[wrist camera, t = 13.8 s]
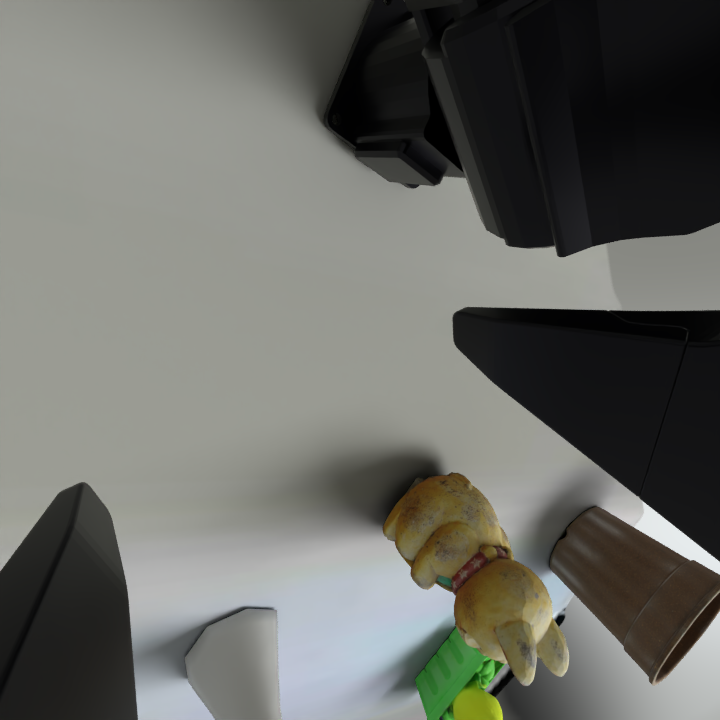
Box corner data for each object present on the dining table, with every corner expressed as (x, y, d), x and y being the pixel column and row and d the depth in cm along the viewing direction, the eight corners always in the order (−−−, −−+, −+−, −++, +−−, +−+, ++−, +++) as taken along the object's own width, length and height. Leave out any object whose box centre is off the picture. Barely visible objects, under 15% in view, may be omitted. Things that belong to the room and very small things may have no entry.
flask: (171, 690, 30) (198, 875, 22) (196, 616, 28) (234, 789, 21) (263, 661, 34) (312, 808, 27) (289, 595, 33) (349, 732, 25)
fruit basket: (432, 685, 56) (494, 783, 47) (397, 688, 50) (460, 800, 42) (482, 620, 56) (554, 706, 47) (452, 616, 50) (527, 712, 42)
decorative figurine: (357, 534, 34) (493, 731, 22) (403, 450, 33) (572, 613, 21) (430, 533, 40) (567, 689, 28) (471, 463, 39) (633, 596, 27)
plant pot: (539, 539, 55) (669, 652, 42) (615, 474, 60) (751, 558, 47) (537, 596, 64) (644, 704, 51) (603, 536, 69) (715, 620, 56)
